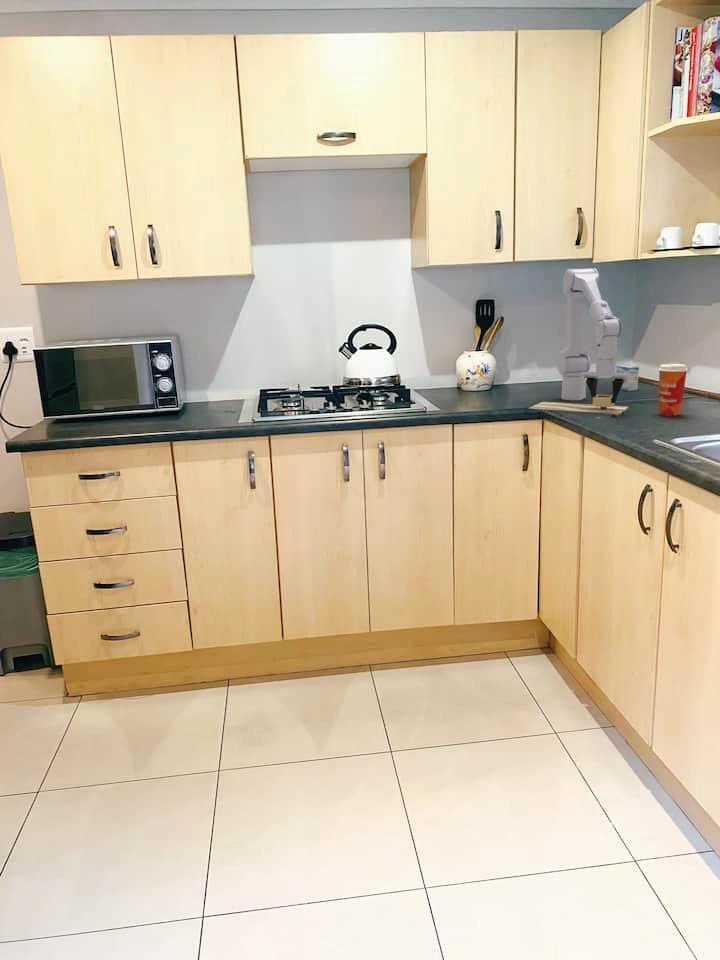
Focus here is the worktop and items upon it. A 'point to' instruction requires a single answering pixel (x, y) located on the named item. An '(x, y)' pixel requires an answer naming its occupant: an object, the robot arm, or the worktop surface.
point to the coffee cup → (671, 388)
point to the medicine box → (633, 382)
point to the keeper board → (580, 407)
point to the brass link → (603, 401)
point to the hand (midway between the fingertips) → (603, 402)
